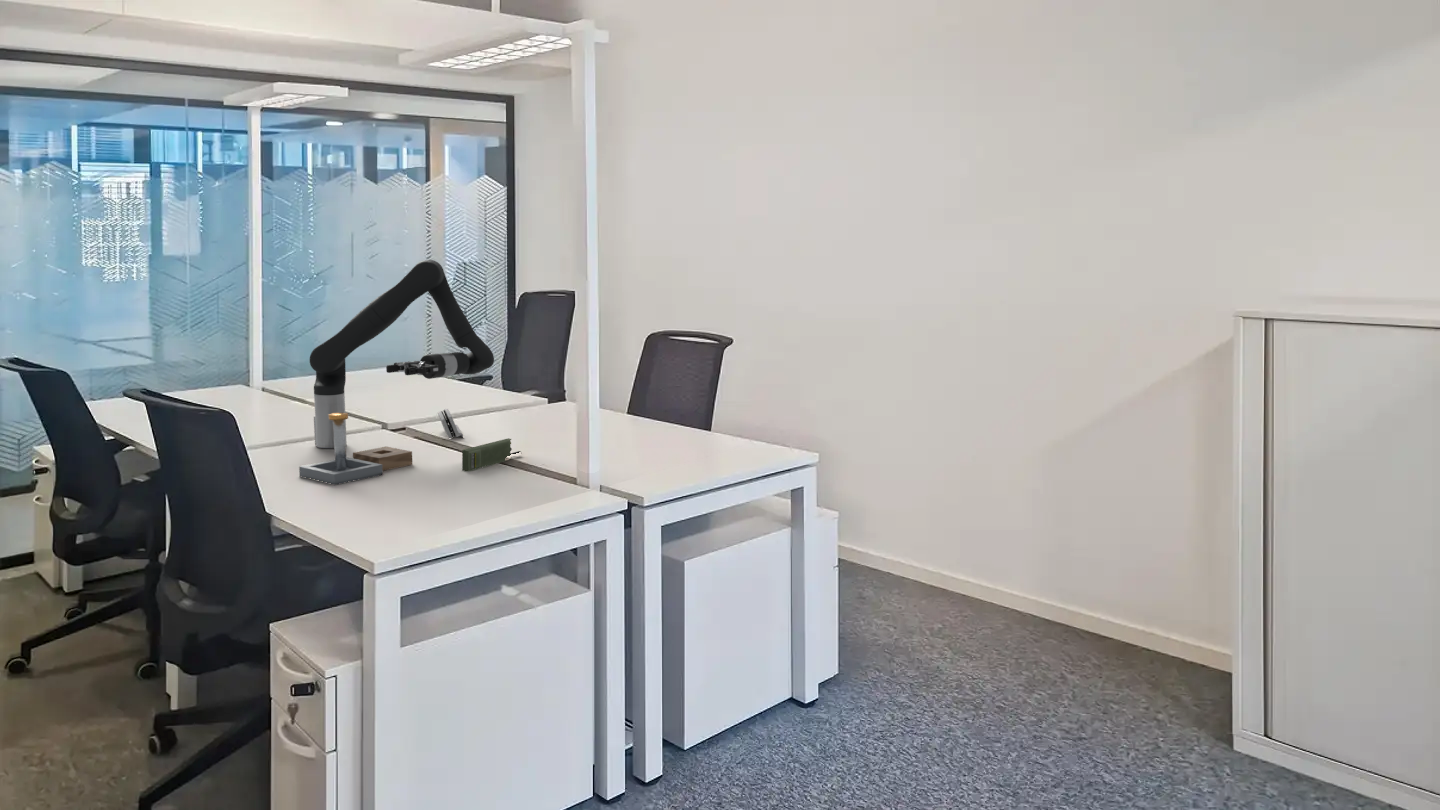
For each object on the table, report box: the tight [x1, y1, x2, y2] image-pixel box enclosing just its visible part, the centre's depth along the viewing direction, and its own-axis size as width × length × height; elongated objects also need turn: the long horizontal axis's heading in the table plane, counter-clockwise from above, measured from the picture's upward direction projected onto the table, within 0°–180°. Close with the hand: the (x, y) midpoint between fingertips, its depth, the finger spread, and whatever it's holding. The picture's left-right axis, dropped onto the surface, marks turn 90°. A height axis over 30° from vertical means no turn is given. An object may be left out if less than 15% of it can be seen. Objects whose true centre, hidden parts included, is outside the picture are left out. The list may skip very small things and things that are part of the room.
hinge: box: [437, 408, 464, 439], centre depth 368 cm, size 17×5×10 cm, turn 20°
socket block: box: [352, 446, 413, 472], centre depth 319 cm, size 12×12×4 cm
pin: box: [329, 412, 349, 472], centre depth 304 cm, size 5×5×17 cm
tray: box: [298, 456, 384, 485], centre depth 305 cm, size 16×16×3 cm
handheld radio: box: [461, 438, 522, 472], centre depth 324 cm, size 7×3×25 cm
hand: (396, 370), depth 320 cm, fingers open, 8 cm apart
